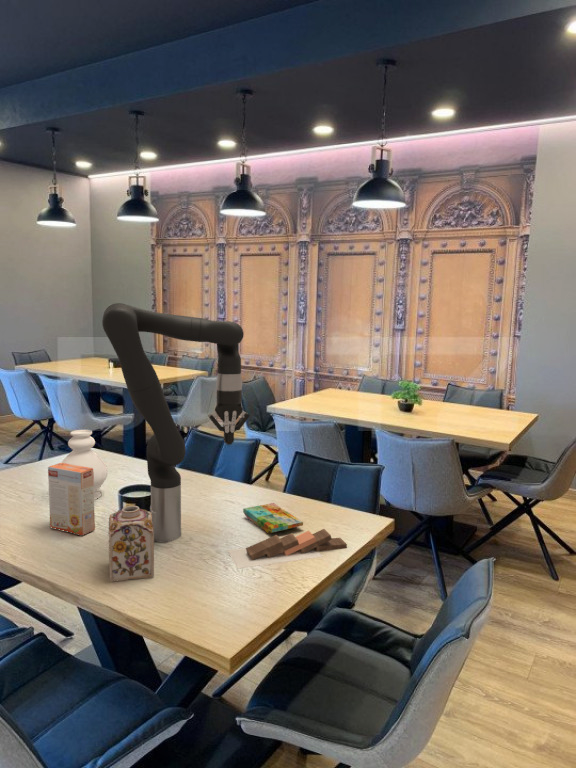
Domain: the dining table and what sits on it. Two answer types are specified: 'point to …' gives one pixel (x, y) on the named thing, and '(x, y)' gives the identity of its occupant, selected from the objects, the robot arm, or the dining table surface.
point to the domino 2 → (284, 545)
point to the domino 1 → (264, 547)
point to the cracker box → (71, 498)
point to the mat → (244, 559)
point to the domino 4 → (318, 540)
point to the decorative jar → (131, 544)
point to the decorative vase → (86, 457)
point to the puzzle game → (271, 518)
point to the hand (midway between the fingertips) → (228, 443)
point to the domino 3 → (302, 542)
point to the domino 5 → (331, 545)
